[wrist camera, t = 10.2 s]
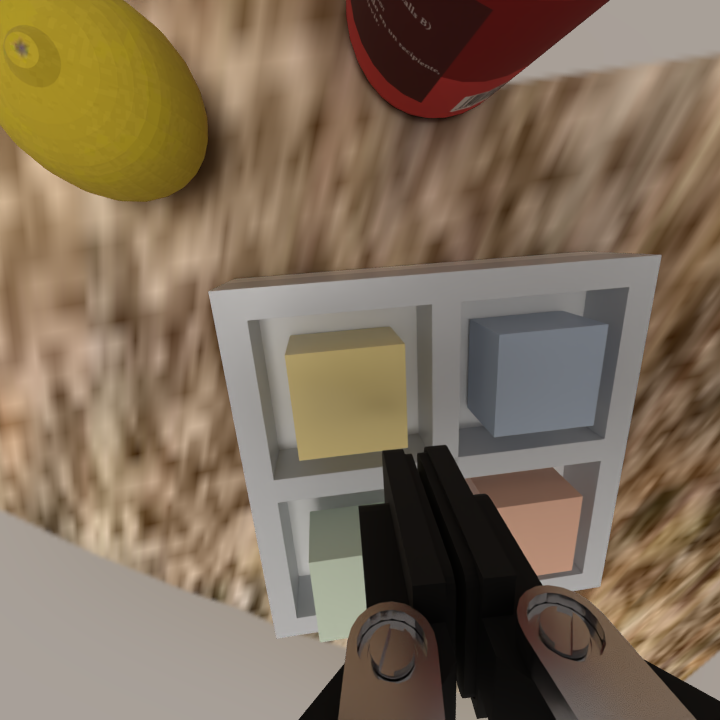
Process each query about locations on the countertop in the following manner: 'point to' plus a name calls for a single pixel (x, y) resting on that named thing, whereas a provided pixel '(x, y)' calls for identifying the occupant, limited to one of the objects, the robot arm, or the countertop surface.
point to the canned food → (454, 46)
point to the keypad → (424, 392)
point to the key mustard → (347, 392)
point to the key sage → (336, 570)
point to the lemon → (99, 97)
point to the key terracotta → (536, 514)
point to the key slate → (535, 371)
